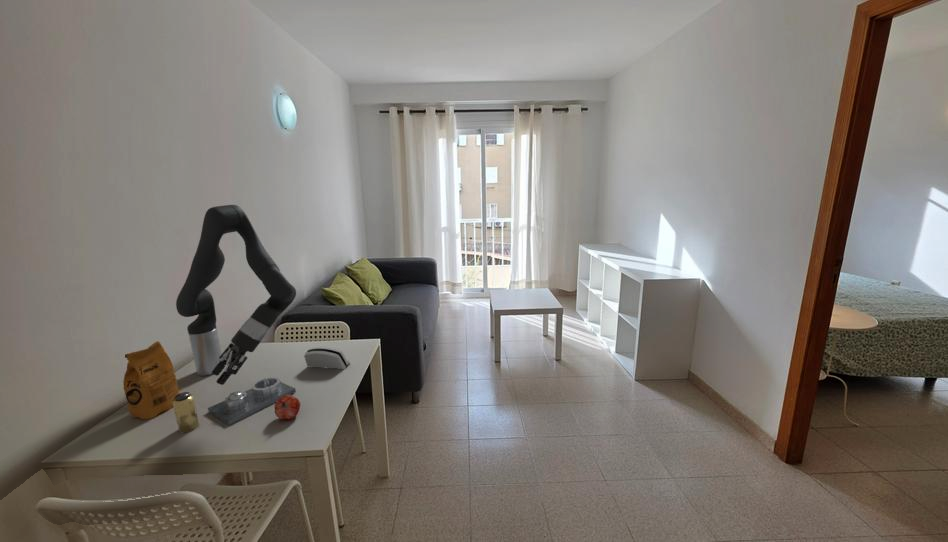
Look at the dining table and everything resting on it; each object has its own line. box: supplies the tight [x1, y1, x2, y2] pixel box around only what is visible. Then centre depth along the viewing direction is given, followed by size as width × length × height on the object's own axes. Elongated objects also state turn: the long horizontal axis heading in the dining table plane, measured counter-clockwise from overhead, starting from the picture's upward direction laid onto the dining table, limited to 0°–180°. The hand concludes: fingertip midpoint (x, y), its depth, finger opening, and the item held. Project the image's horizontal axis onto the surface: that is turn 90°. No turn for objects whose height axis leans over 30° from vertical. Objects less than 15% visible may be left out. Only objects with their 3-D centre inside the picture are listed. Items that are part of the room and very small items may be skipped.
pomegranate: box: [274, 394, 301, 420], centre depth 121 cm, size 7×7×10 cm
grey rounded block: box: [303, 346, 351, 370], centre depth 154 cm, size 17×5×10 cm, turn 78°
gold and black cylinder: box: [172, 391, 200, 433], centre depth 117 cm, size 5×5×11 cm
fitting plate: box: [207, 376, 297, 426], centre depth 131 cm, size 14×22×6 cm, turn 147°
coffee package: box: [122, 341, 180, 420], centre depth 127 cm, size 10×12×22 cm
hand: (216, 378), depth 122 cm, fingers open, 8 cm apart
